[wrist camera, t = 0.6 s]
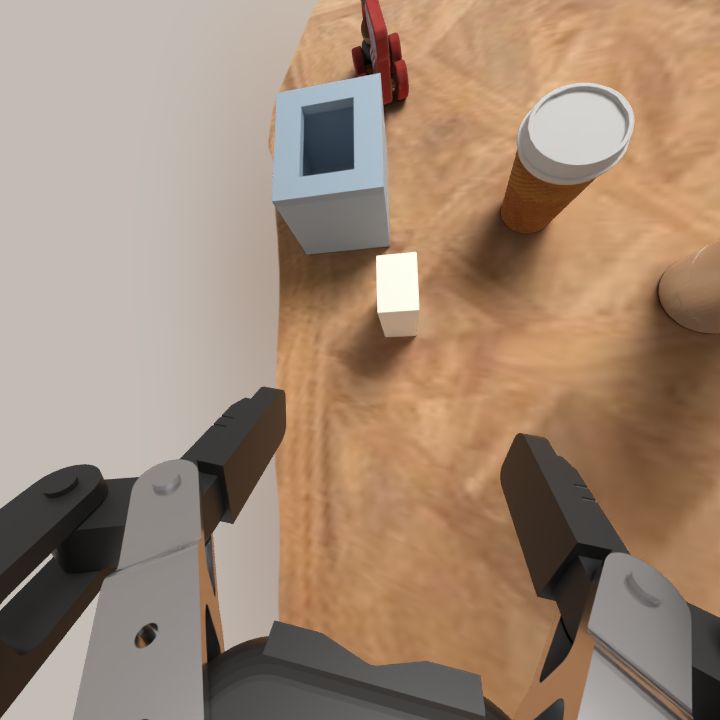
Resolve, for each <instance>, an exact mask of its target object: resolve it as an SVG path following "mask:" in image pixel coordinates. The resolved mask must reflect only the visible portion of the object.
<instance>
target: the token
mask: <svg viewBox="0 0 720 720" xmlns="http://www.w3.org/2000/svg"><path fill="white" fill-rule="evenodd" d="M376 270H377V313H378V316H379V319H380V322H381V325H382V328H383V331H384V335H385V337H403V336H416V335H417V326H418V317H419V293H418V273H417V252H410V253H400V254H389V255H379V256H376Z"/></svg>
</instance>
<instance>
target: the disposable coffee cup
mask: <svg viewBox="0 0 720 720" xmlns="http://www.w3.org/2000/svg"><path fill="white" fill-rule="evenodd" d="M633 128H634V114H633V111H632V108H631V106H630V104H629V103H628V101H627V100H626V99H625V98H624V97H623V96H622V95H621V94H620V93H618V92H617V91H615V90H613V89H611V88H609V87H606V86H602V85H599V84H596V83H575V84H570V85H566V86H563V87H560V88H557V89H555V90H553V91H551V92H550V93H548V94H547V95H546V96H544V97H543V98H542V99H541V100H540V101H539V102H538V103H537V104H536V105H535V107H534V108H533V109H532V110H531V111H530V112H529V113H528V114H527V115H526V117H525V118H524V119H523V121H522V123H521V126H520V128H519V131H518V135H517V148H518V149H517V153H516V157H515V160H514V164H513V167H512V171H511V175H510V178H509V182H508V186H507V189H506V193H505V197H504V200H503V204H502V207H501V217H502V220H503V221H504V223H505V224H506V226H507V227H509V228H510V229H511V230H514V231H516V232H519V233H534V232H537V231H539V230H541V229H543V228H544V227H546V226H547V225H548V224H549V223H550V222H551V221H552V220H553V219H554V218H555V217H556V216H557V215H558V214H559V213H560V212H561V211H562V210H563V209H564V208H565V207H566V206H567V205H568V204H569V203H570V202H571V201H572V200H573V199H575V198H576V197H577V196H578V195H579V194H580V193H581V192H582V191H583V190H584V189H585V188H586V187H587V186H588V185H589V184H590V183H591V182H592V181H593V180H594V179H595V178H596V177H598V176H599V175H601V174H603V173H605V172H607V171H608V170H609V169H610V168H612V167H613V166H614V165H616V163H617V162H618V161H619V160H620V159H621V158H622V157H623V155H624V153H625V151H626V150H627V147H628V144H629V141H630V137H631V134H632V132H633Z"/></svg>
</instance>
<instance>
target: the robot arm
mask: <svg viewBox="0 0 720 720" xmlns="http://www.w3.org/2000/svg"><path fill="white" fill-rule="evenodd" d="M659 297H660V302H661V304H662V306H663V308H664V310H665V311H666V312H667V313H668V315H669V316H670V317H671V318H672V319H674V320H675V321H676V322H677V323H679V324H680V325H682V326H684V327H686V328H688V329H691V330H694V331H697V332H702V333H720V239H718V240H716V241H715V242H712V243H711V244H709V245H707V246H705V247H703V248H701V249H700V250H698V251H696V252H694V253H692V254H691V255H689V256H687V257H685V258H683V259H681V260H680V261H678V262H676V263H675V264H673V265H671V266H670V267H669V268H668V269H667V270H666V271H665V273H664V274H663V276H662V278H661V280H660V284H659ZM285 429H286V402H285V392H284V390H280V389H274V388H268V387H261V388H260V389H259V390H258V392H257V393H256V394H255V395H254V396H253V397H252V398H251V399H249V398H244V399H242V400H240V401H238V402H237V403H235V404H233V405H231V406H230V407H229V409H228V410H227V411H226V412H225V413H224V414H223V415H222V417H220V418H219V419H218V420H217V421H216V422H215V423H214V425H213V426H211V427H210V428H209V429H208V430H207V431H206V432H205V433H204V435H203V436H201V438H200V439H199V440H198V441H197V442H196V443H195V444H194V445H193V446H192V447H191V448H190V449H189V450H188V451H187V452H186V453H185V454H184V455H183V457H181V458H180V459H178V460H171V461H166V462H163V463H160V464H158V465H156V466H154V467H152V468H150V469H149V470H147V471H146V472H145V473H143V474H142V475H141V476H140V477H135V478H122V479H107V480H104V478H103V476H102V474H101V472H100V470H99V469H98V468H97V467H95V466H93V465H86V464H84V465H74V466H70V467H66V468H63V469H60V470H58V471H55V472H53V473H51V474H49V475H47V476H45V477H43V478H42V479H40V480H39V481H37V482H36V483H34V484H33V485H31V486H30V487H29V488H28V489H26V490H25V491H23V492H22V493H21V494H19V495H18V496H17V497H15V498H14V499H13V500H12V501H10V502H9V503H8V504H6V505H5V506H4V507H2V508H1V509H0V604H1V603H2V602H3V600H4V599H5V598H6V597H7V596H8V595H9V594H10V593H11V592H12V591H13V590H14V589H15V588H16V587H17V586H18V585H19V584H20V583H21V582H22V581H23V580H24V579H25V578H26V577H27V576H28V575H29V574H30V573H31V572H32V571H33V570H34V569H35V568H36V567H37V566H38V565H39V564H40V563H42V561H43V560H44V559H46V558H47V557H48V556H49V555H50V553H52V555H53V558H52V559H51V560H50V561H49V562H48V563H47V564H46V565H45V566H44V567H43V568H42V569H41V570H40V571H39V572H38V573H37V574H36V575H35V576H34V577H33V578H32V579H31V580H30V581H29V582H28V583H27V584H26V585H25V586H24V587H23V588H22V589H21V590H20V591H19V592H18V593H17V594H16V595H15V596H14V597H13V598H12V599H11V600H10V601H9V602H8V603H7V605H5V606H4V607H3V608H2V609H1V611H0V718H1V717H2V716H3V714H4V713H5V712H6V711H7V709H8V708H9V707H10V705H11V704H12V703H13V702H14V700H15V699H16V698H17V696H18V695H19V694H20V693H21V691H22V690H23V689H24V687H25V686H26V685H27V684H28V682H29V681H30V680H31V678H32V677H33V676H34V675H35V673H36V672H37V671H38V670H39V668H40V667H41V666H42V664H43V663H44V662H45V660H46V659H47V658H48V657H49V655H50V654H51V653H52V652H53V650H54V649H55V648H56V646H57V645H58V644H59V643H60V641H61V640H62V639H63V637H64V636H65V635H66V634H67V632H68V631H69V630H70V628H71V627H72V626H73V625H74V623H75V622H76V621H77V619H78V618H79V617H80V616H81V614H82V613H83V612H84V610H85V609H86V608H87V607H88V605H89V604H90V603H91V601H92V600H93V599H94V598H95V596H96V595H97V594H98V593H99V591H100V595H99V599H98V604H97V608H96V613H95V618H94V622H93V627H92V632H91V636H90V642H89V646H88V651H87V655H86V660H85V665H84V669H83V675H82V679H81V684H80V689H79V693H78V698H77V703H76V707H75V712H74V717H73V720H511V719H510V718H509V717H508V716H507V715H506V714H505V713H504V712H503V711H502V710H501V709H500V708H498V707H497V706H496V705H495V704H494V703H492V702H491V701H490V700H489V699H487V698H485V697H484V696H483V692H482V685H481V678H480V675H477V674H473V673H470V672H466V671H462V670H458V669H455V668H451V667H447V666H443V665H440V664H436V663H432V662H428V661H422V662H412V663H401V664H391V665H381V666H373V665H369V664H368V663H366V662H364V661H363V660H361V659H360V658H358V657H357V656H355V655H354V654H352V653H351V652H349V651H348V650H346V649H345V648H343V647H342V646H340V645H339V644H337V643H336V642H334V641H333V640H331V639H330V638H328V637H327V636H325V635H324V634H323V633H319V632H316V631H312V630H308V629H304V628H301V627H297V626H293V625H289V624H286V623H282V622H278V621H274V623H273V626H272V629H271V632H270V635H269V636H267V637H260V638H256V639H252V640H249V641H246V642H243V643H241V644H239V645H236V646H234V647H232V648H230V649H229V650H227V651H224V641H223V632H222V624H221V618H220V611H219V603H218V592H217V580H216V567H215V556H214V543H213V534H212V533H213V531H214V530H215V528H216V527H217V525H218V523H219V522H220V521H222V522H227V523H231V524H233V523H234V521H235V520H236V518H237V516H238V515H239V513H240V511H241V510H242V508H243V506H244V504H245V503H246V501H247V499H248V497H249V496H250V494H251V493H252V491H253V489H254V487H255V486H256V484H257V482H258V480H259V479H260V477H261V476H262V474H263V472H264V470H265V469H266V467H267V465H268V464H269V462H270V460H271V458H272V457H273V455H274V453H275V452H276V450H277V448H278V447H279V445H280V443H281V441H282V439H283V437H284V434H285ZM500 480H501V486H502V489H503V492H504V495H505V498H506V501H507V504H508V507H509V511H510V514H511V517H512V520H513V523H514V526H515V529H516V532H517V535H518V538H519V541H520V545H521V548H522V551H523V554H524V557H525V560H526V563H527V566H528V569H529V572H530V576H531V579H532V582H533V585H534V588H535V591H536V594H537V597H541V598H546V599H550V600H554V601H556V603H557V605H558V608H559V611H560V612H559V613H558V614H557V616H556V618H555V620H554V623H553V625H552V628H551V631H550V634H549V637H548V639H547V642H546V645H545V648H544V651H543V653H542V656H541V659H540V662H539V665H538V667H537V670H536V673H535V676H534V679H533V681H532V684H531V686H530V689H529V691H528V693H527V695H526V696H525V698H524V700H523V701H522V703H521V705H520V706H519V708H518V710H517V712H516V714H515V716H514V719H513V720H720V618H719V617H717V616H715V615H713V614H711V613H708V612H706V611H704V610H702V609H700V608H698V607H696V606H694V605H692V604H690V603H688V602H686V601H685V600H684V599H683V597H682V596H681V594H680V593H679V592H678V590H677V589H676V588H675V587H674V586H673V585H672V583H671V582H670V581H669V580H668V579H667V578H665V577H664V576H663V575H662V574H661V573H660V572H658V571H657V570H656V569H655V568H653V567H652V566H650V565H649V564H647V563H646V562H644V561H642V560H640V559H638V558H636V557H634V556H631V555H630V553H629V551H628V550H627V548H626V547H625V545H624V544H623V542H622V540H621V539H620V537H619V536H618V534H617V533H616V531H615V530H614V528H613V526H612V525H611V523H610V522H609V520H608V519H607V517H606V515H605V514H604V512H603V511H602V509H601V508H600V506H599V504H598V503H596V502H595V498H594V497H593V495H592V493H591V492H590V490H589V489H587V486H586V484H585V482H584V481H583V479H582V478H581V476H580V475H579V473H578V471H577V470H576V469H575V468H573V467H572V466H571V465H570V464H569V463H568V462H567V461H566V460H565V459H564V458H563V457H560V456H557V455H556V453H555V452H554V450H553V448H552V446H551V445H550V443H549V441H548V440H547V439H546V438H544V437H539V436H533V435H528V434H522V433H519V434H517V435H516V436H515V438H514V440H513V443H512V445H511V447H510V449H509V452H508V454H507V456H506V458H505V461H504V463H503V465H502V468H501V474H500ZM116 569H117V570H116Z"/></svg>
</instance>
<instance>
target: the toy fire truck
mask: <svg viewBox="0 0 720 720" xmlns="http://www.w3.org/2000/svg"><path fill="white" fill-rule="evenodd" d="M361 3H362V15H363V21H362V24H361V32H362V36H363V39H364V40H363V42H362V48H361V46H358V47H356V48H353V49H352V57H353V63H354V68H355V73H356V78H357V77H362V76H367V73H366V69H368V68H370V67H371V68H372V71H373V74H378V73H381V85H382V98H383V105H385V104H387V103H390V102H391V101H392V88H395V93H396V97H397V99H398V100H401V99H404V98H406V97H407V96H408V92H409V84H408V74H407V68H406V64H405V61H404V60H402V56H401V46H400V40H399V35H398V34H397V33H393V34H390V35H388V33H387V29H386V25H385V22H384V19H383V15H382V12H381V8H380V5H379V1H378V0H361ZM390 70H391V72H392V73H393V78H392V79H391V76H390Z"/></svg>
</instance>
